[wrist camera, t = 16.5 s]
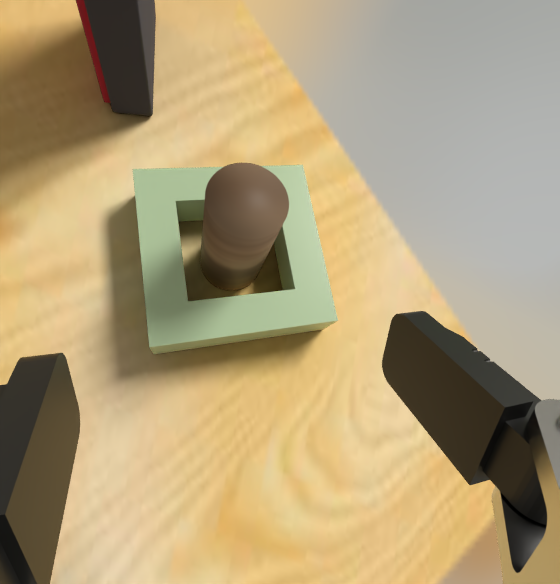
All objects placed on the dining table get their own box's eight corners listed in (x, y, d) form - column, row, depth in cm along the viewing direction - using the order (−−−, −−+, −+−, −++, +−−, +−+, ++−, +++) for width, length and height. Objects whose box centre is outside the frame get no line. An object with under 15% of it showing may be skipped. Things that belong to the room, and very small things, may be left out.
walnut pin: (264, 287, 28) (296, 235, 20) (204, 293, 27) (210, 241, 19) (254, 232, 29) (281, 161, 21) (196, 236, 28) (200, 163, 20)
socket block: (323, 329, 28) (337, 320, 25) (153, 354, 25) (149, 347, 22) (292, 186, 31) (302, 165, 28) (138, 193, 28) (132, 169, 25)
